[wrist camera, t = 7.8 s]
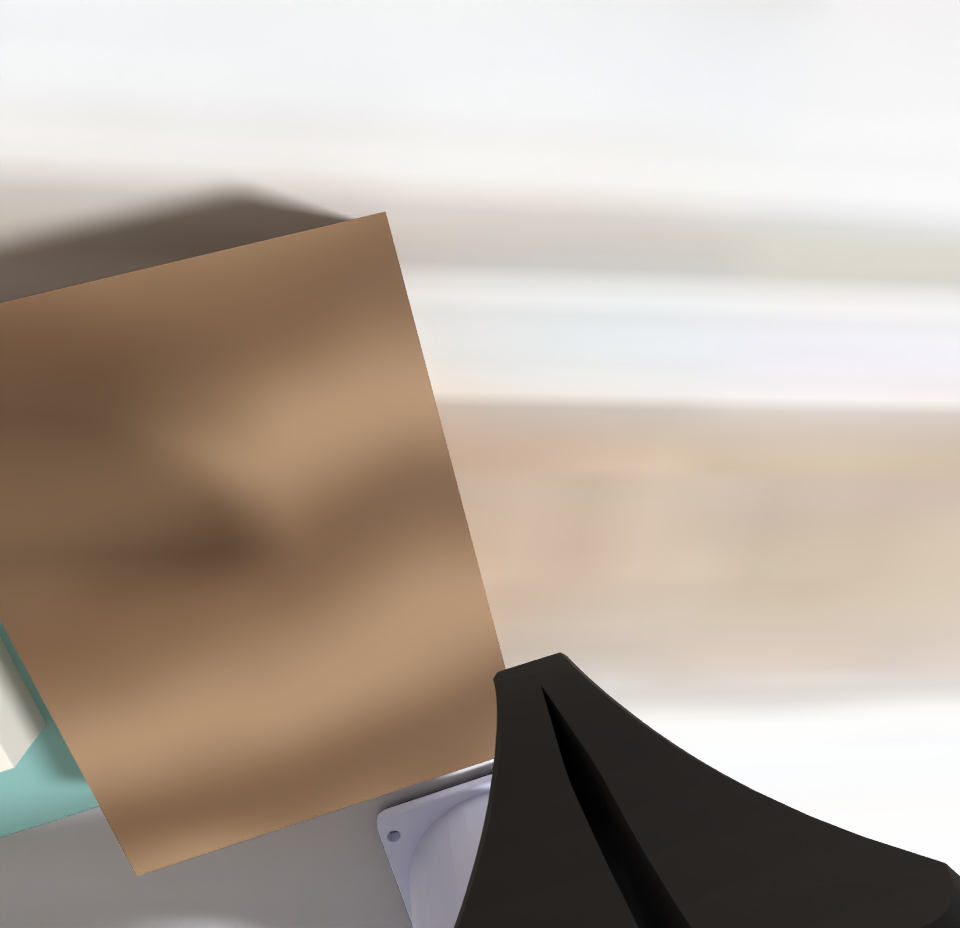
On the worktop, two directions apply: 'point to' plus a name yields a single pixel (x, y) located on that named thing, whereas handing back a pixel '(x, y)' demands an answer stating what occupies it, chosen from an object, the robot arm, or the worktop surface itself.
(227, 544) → the board
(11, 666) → the cream white block
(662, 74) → the worktop surface
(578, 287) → the worktop surface
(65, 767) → the mat
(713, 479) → the worktop surface
